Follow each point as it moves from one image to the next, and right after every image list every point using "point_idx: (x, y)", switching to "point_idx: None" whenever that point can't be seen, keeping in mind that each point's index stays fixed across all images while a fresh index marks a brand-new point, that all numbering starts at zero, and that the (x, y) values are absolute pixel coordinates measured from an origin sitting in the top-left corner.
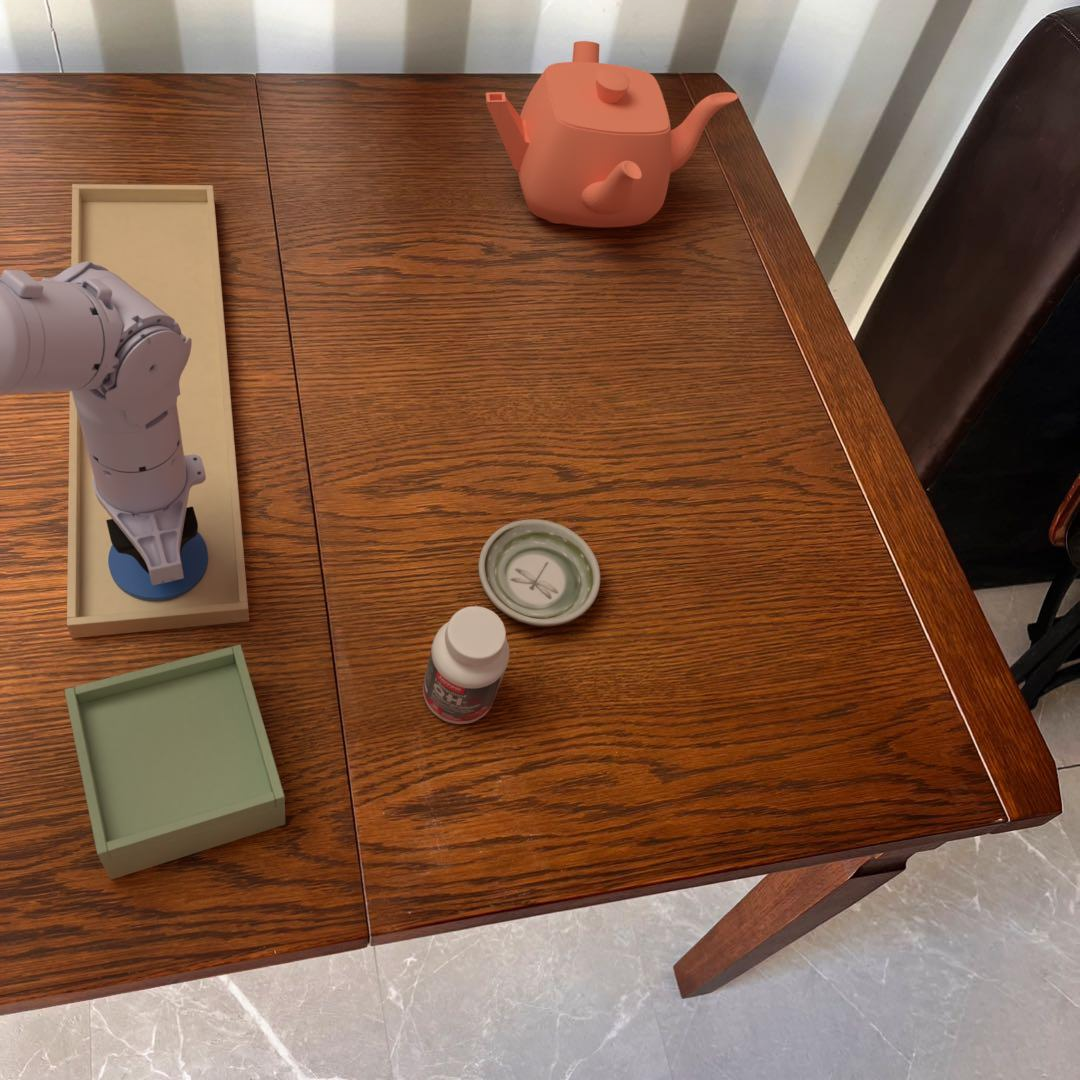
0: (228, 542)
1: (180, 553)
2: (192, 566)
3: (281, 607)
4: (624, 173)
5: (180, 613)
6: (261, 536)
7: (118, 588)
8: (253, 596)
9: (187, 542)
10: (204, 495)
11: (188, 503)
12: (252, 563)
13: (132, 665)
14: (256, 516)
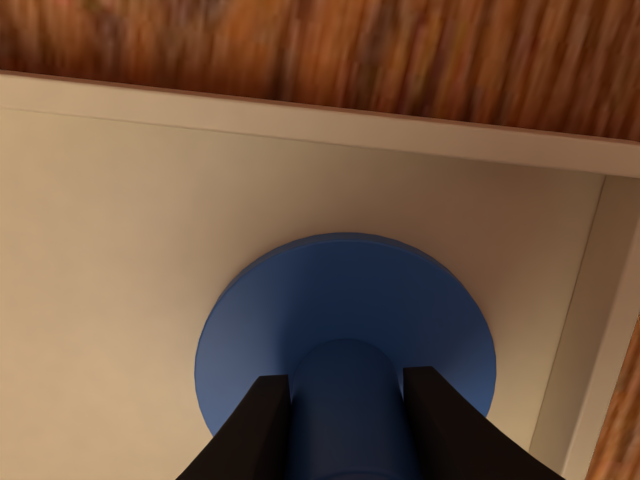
0: (319, 157)
1: (478, 411)
2: (407, 294)
3: (615, 16)
4: None
5: (615, 375)
6: (300, 30)
7: None
8: (537, 107)
9: (308, 295)
10: (107, 205)
11: (137, 260)
12: (406, 86)
13: (632, 455)
14: (208, 32)
